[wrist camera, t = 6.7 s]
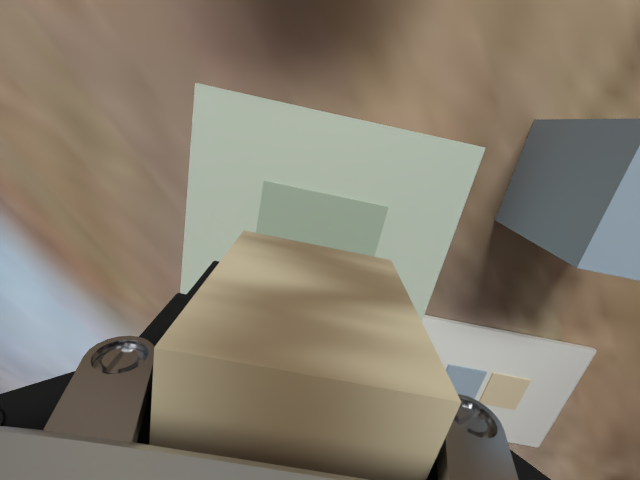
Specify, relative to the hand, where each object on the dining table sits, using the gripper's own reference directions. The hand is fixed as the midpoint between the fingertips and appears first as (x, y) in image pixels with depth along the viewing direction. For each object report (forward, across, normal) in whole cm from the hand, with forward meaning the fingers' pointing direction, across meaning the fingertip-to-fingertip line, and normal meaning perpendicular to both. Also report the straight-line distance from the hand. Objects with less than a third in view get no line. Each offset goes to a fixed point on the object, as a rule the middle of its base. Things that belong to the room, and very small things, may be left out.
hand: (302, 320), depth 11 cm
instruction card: (+7, -12, +7) cm, 16 cm away
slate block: (+7, -12, -6) cm, 15 cm away
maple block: (+1, 0, 0) cm, 1 cm away
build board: (+7, 0, 0) cm, 7 cm away
